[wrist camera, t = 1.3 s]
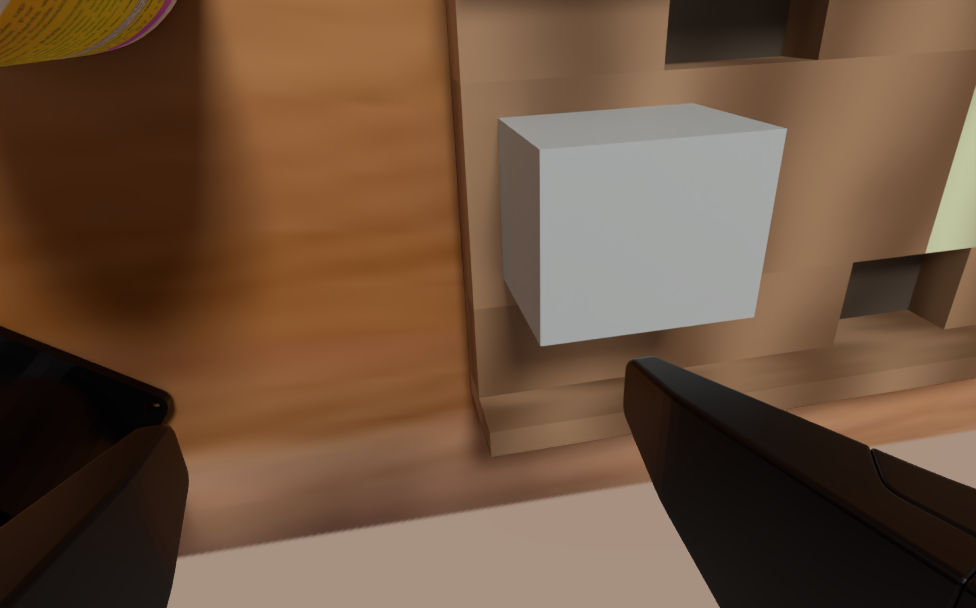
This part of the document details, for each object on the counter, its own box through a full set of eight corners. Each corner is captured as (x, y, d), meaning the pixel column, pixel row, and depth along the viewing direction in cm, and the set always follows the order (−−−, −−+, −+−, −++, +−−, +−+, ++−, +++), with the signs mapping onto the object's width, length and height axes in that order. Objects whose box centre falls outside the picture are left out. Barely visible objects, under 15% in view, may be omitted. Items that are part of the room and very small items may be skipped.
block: (503, 277, 19) (540, 346, 15) (497, 118, 17) (539, 149, 13) (676, 257, 20) (754, 317, 16) (692, 103, 18) (787, 128, 14)
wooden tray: (471, 390, 23) (497, 477, 19) (439, -99, 16) (468, -141, 12) (995, 313, 27) (1119, 372, 23) (1155, -113, 20) (1381, -149, 16)
